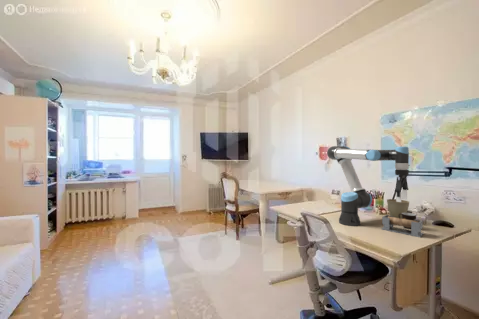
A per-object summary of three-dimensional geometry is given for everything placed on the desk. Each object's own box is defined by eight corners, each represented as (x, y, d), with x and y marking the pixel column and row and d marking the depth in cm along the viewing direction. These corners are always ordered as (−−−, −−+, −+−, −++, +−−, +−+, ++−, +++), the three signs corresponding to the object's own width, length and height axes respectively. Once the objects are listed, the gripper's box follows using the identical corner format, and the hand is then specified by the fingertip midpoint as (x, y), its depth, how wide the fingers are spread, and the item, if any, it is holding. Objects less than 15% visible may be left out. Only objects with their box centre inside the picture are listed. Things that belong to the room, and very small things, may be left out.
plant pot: (403, 224, 176) (403, 203, 176) (382, 219, 189) (382, 200, 189) (413, 221, 183) (413, 201, 183) (393, 217, 196) (393, 198, 196)
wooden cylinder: (387, 224, 163) (386, 217, 163) (389, 222, 167) (389, 215, 166) (417, 230, 151) (416, 222, 150) (419, 227, 154) (418, 220, 153)
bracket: (381, 229, 164) (381, 216, 164) (385, 227, 170) (385, 214, 170) (420, 237, 148) (420, 223, 148) (423, 234, 153) (423, 220, 153)
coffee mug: (419, 230, 162) (419, 215, 162) (405, 229, 164) (405, 215, 164) (410, 225, 174) (410, 211, 173) (397, 224, 175) (397, 211, 175)
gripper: (403, 170, 147) (403, 203, 148) (413, 168, 164) (413, 198, 164) (389, 169, 153) (389, 202, 153) (400, 168, 169) (400, 197, 170)
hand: (401, 200), depth 159 cm, fingers open, 13 cm apart
